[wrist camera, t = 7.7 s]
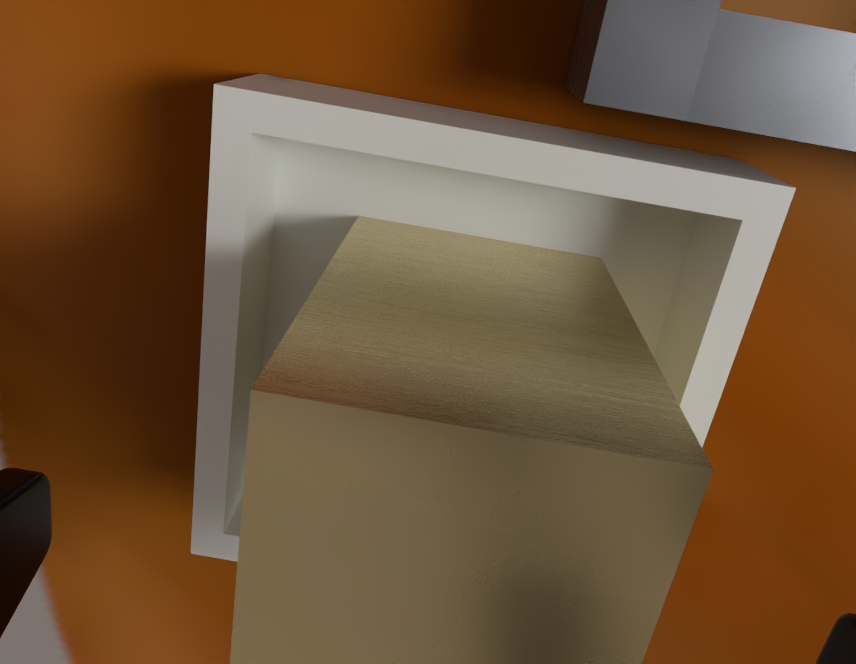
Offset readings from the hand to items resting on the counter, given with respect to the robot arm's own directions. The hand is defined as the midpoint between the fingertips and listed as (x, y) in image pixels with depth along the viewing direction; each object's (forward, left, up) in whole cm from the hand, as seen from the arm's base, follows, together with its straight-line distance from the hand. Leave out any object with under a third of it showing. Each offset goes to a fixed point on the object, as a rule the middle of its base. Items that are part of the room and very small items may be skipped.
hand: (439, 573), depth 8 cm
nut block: (0, 0, -7) cm, 7 cm away
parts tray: (0, 0, -7) cm, 7 cm away
